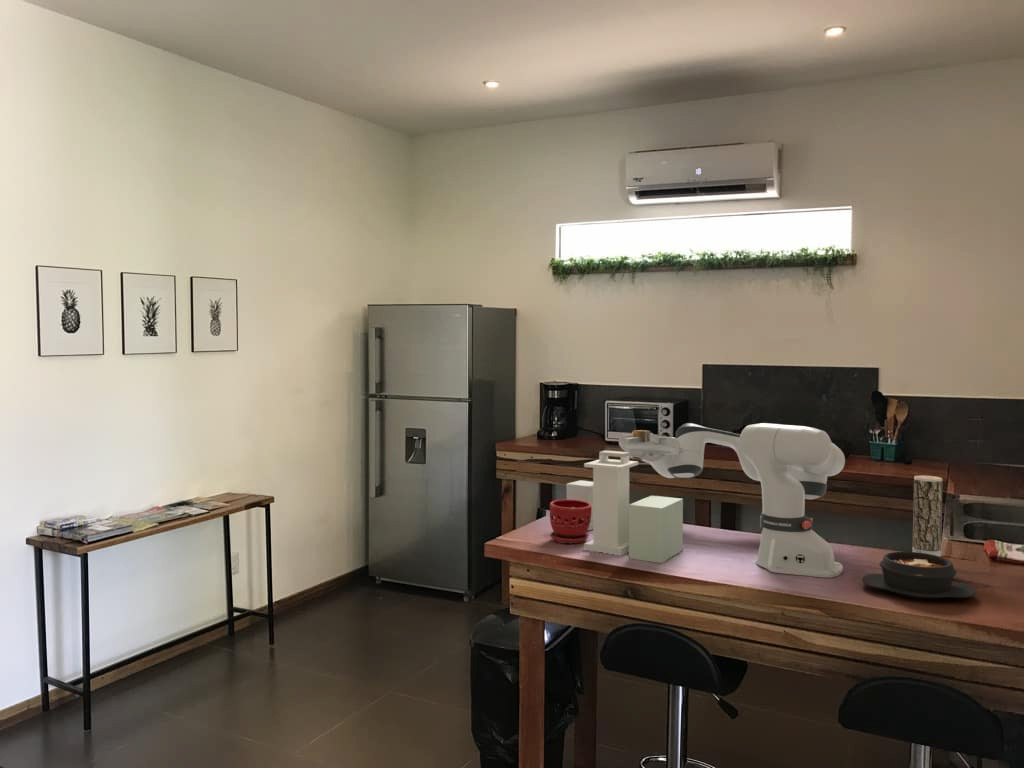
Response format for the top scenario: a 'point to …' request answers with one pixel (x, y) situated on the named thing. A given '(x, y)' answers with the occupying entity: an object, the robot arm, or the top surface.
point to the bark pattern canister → (927, 515)
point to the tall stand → (610, 503)
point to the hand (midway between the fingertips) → (641, 434)
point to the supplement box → (581, 494)
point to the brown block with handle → (638, 437)
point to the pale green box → (655, 528)
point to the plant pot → (570, 520)
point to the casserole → (918, 576)
